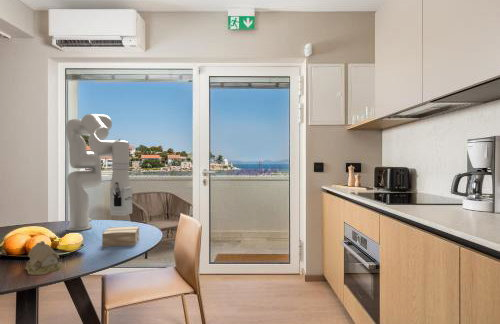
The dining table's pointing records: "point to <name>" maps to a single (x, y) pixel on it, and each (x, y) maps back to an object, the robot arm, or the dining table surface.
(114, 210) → the supplement box
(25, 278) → the dining table surface
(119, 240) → the maple riser block
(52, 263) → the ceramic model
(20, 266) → the dining table surface
